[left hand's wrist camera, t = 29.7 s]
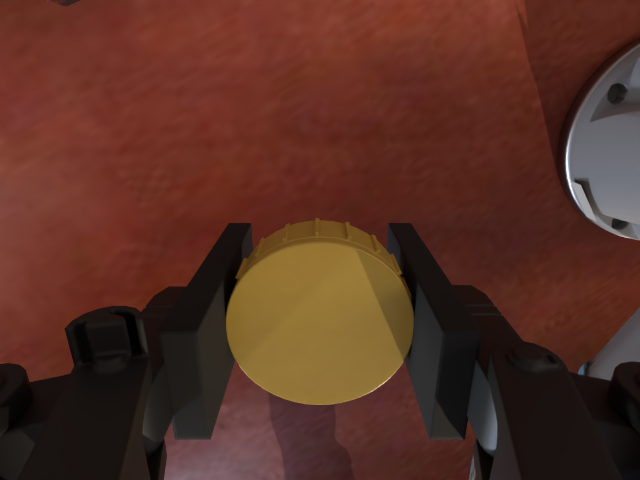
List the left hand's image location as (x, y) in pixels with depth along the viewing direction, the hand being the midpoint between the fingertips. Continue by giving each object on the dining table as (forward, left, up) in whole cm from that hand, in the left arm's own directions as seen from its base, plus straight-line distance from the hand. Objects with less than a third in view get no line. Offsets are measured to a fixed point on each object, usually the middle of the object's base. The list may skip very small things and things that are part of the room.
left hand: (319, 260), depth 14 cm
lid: (0, 0, +4) cm, 4 cm away
